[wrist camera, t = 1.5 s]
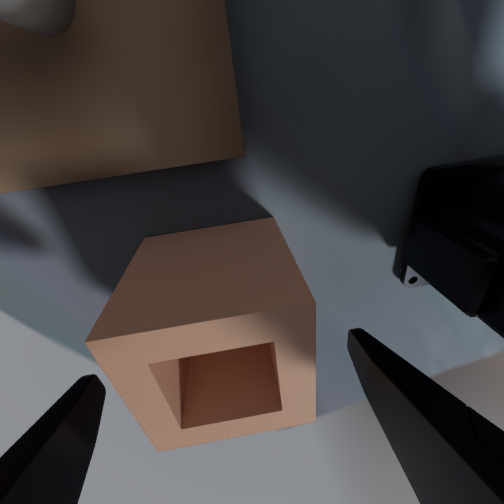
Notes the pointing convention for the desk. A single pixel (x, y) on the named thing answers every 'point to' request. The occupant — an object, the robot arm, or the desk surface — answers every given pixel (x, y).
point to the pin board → (113, 89)
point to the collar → (211, 335)
